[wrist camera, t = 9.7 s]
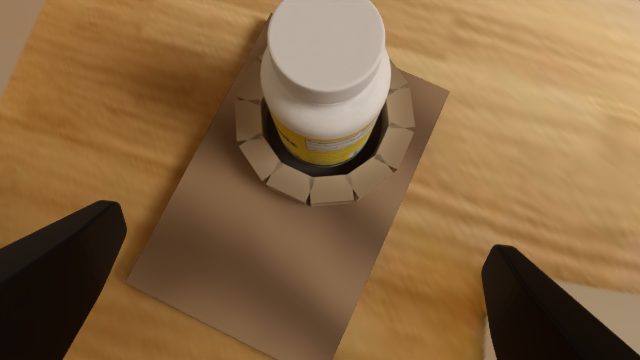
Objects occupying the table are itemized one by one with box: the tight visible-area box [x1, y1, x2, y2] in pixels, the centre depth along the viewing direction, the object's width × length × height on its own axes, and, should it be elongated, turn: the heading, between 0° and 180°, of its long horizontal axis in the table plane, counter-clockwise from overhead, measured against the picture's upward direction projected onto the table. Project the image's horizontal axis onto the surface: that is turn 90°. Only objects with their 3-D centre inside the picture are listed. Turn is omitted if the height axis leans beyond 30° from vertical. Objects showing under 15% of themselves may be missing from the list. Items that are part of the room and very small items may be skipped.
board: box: [125, 13, 450, 360], centre depth 21 cm, size 18×12×2 cm, turn 155°
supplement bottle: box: [260, 0, 391, 167], centre depth 17 cm, size 5×5×10 cm
